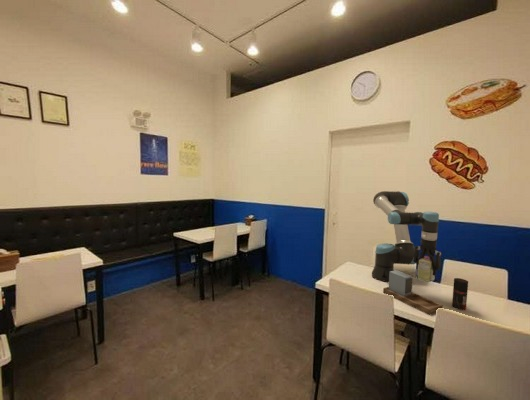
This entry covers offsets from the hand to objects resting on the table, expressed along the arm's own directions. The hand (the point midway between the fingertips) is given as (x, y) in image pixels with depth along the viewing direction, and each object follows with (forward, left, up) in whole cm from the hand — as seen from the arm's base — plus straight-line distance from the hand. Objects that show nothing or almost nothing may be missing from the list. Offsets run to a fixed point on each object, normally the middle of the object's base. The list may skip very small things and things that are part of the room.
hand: (425, 277), depth 143 cm
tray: (0, -12, -12) cm, 17 cm away
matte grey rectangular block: (-7, -12, -10) cm, 17 cm away
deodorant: (+16, +5, -12) cm, 20 cm away
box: (0, 0, -1) cm, 1 cm away
